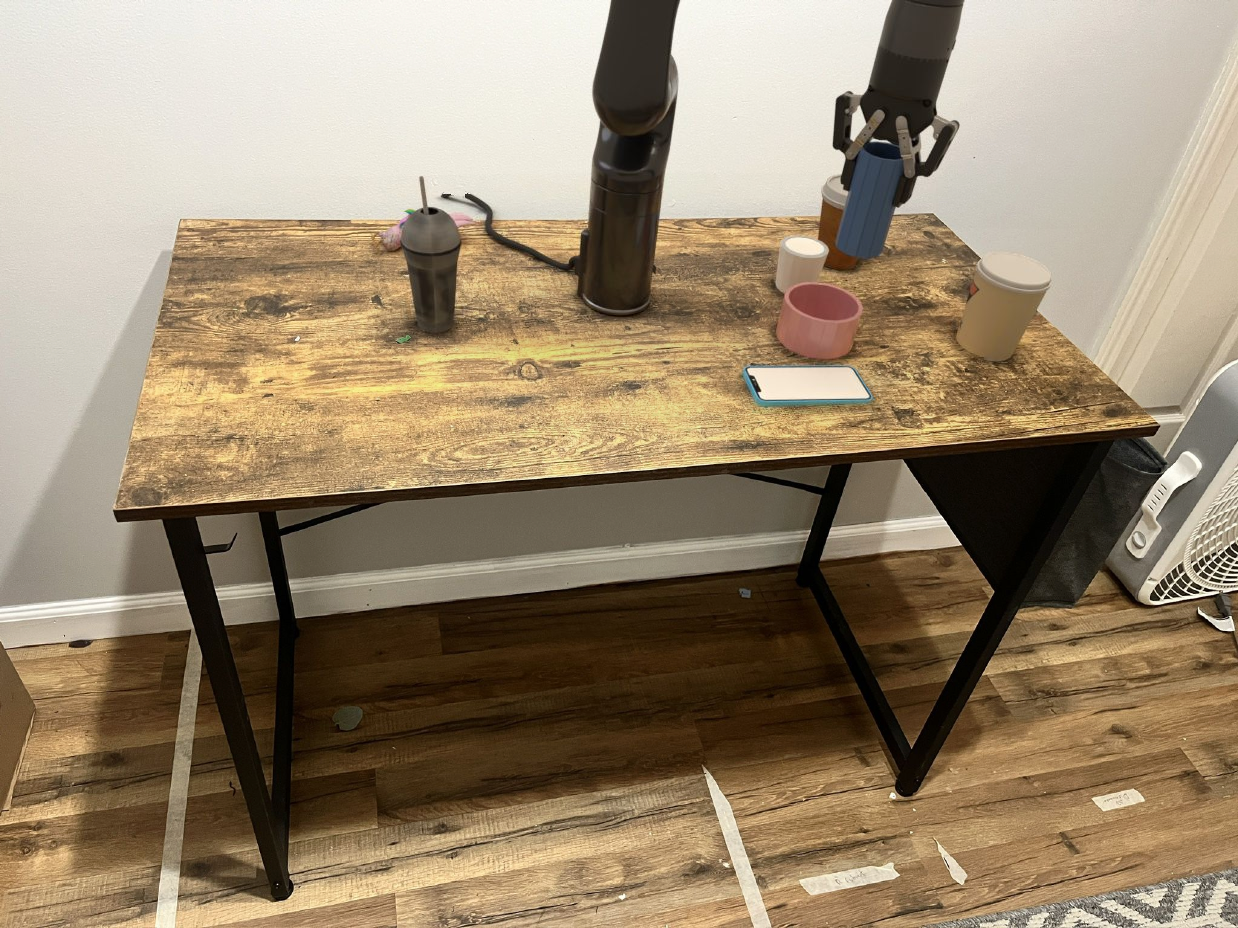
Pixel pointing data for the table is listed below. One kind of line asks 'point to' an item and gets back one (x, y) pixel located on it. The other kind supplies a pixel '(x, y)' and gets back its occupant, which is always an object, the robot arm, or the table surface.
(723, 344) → the table surface
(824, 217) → the disposable coffee cup
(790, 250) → the white cylinder
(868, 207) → the blue cup
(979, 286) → the coffee cup
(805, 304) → the pink cup
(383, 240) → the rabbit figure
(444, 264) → the beverage cup
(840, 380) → the smartphone
